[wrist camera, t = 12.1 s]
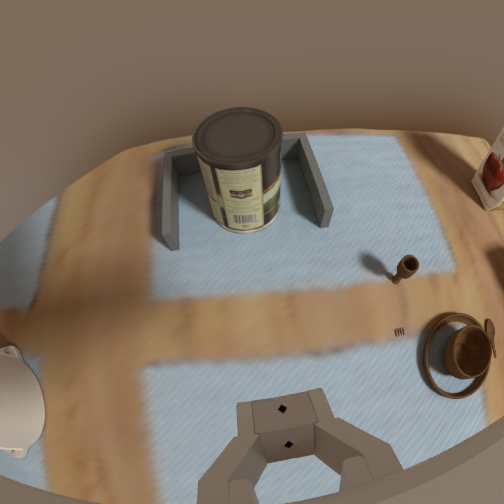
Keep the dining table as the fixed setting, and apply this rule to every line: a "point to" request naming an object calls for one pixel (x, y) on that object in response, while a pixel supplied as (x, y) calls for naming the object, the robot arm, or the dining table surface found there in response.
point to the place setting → (457, 342)
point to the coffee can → (241, 167)
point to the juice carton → (491, 177)
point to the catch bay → (189, 163)
